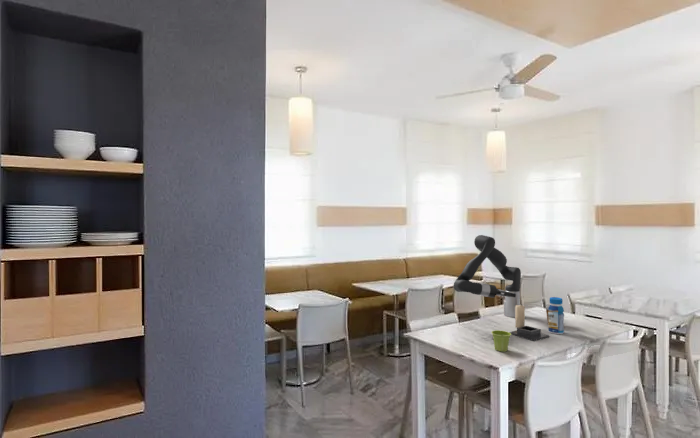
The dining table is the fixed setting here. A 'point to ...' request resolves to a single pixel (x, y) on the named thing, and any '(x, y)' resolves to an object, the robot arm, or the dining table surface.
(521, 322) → the tan wooden block
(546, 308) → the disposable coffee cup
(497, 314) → the dining table surface
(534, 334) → the black socket base
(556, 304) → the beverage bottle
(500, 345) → the plant pot
